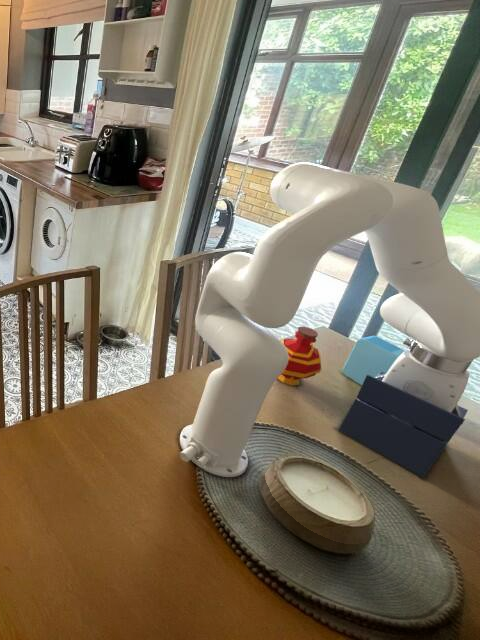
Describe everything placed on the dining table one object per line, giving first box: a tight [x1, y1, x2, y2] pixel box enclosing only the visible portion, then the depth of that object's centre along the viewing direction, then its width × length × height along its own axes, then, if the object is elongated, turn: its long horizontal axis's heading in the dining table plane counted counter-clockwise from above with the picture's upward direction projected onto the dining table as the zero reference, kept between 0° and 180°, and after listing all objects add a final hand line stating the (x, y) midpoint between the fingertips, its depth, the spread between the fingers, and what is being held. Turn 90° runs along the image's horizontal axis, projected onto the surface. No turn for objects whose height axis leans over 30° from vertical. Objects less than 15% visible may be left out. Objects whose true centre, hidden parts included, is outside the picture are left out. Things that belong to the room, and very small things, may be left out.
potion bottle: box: [277, 326, 322, 386], centre depth 104 cm, size 10×10×15 cm
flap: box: [356, 375, 466, 443], centre depth 80 cm, size 7×14×1 cm
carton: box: [338, 372, 469, 479], centre depth 88 cm, size 15×14×10 cm
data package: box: [342, 335, 406, 386], centre depth 102 cm, size 12×4×12 cm, turn 16°
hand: (397, 424), depth 87 cm, fingers closed on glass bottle, 4 cm apart
